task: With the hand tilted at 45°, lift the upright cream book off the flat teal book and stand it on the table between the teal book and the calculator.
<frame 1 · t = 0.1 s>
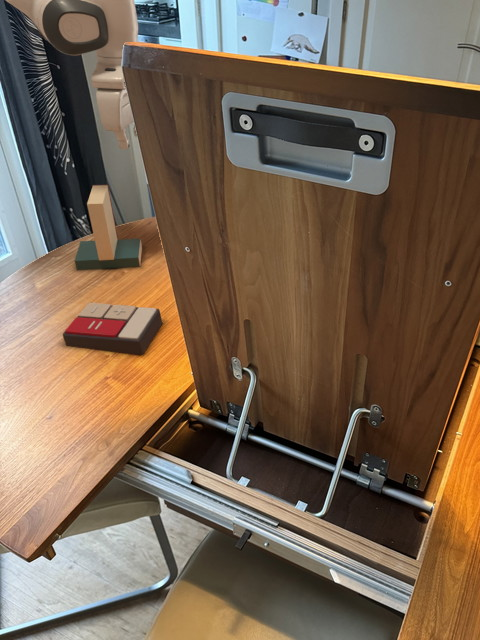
hand: (132, 142, 115), 24 cm above the table, tool pointing down, fingers open, 8 cm apart
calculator: (116, 336, 99), on the table
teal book: (111, 260, 122), on the table, touching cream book
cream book: (108, 249, 120), point 3 cm above the table, touching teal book
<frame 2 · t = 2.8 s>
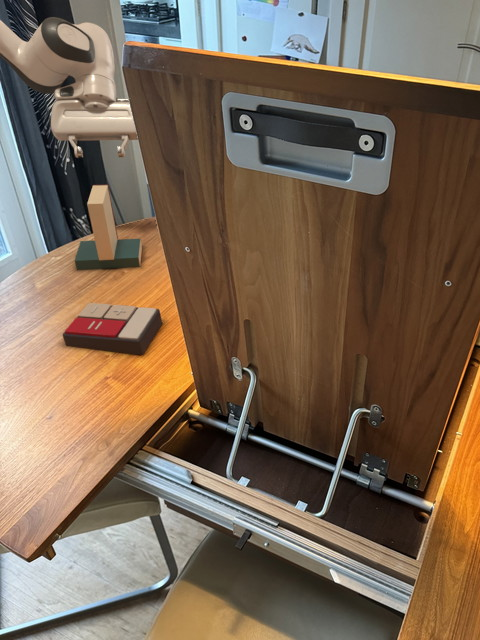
hand: (100, 156, 118), 20 cm above the table, tool tilted 45°, fingers open, 8 cm apart
nothing on the table moved.
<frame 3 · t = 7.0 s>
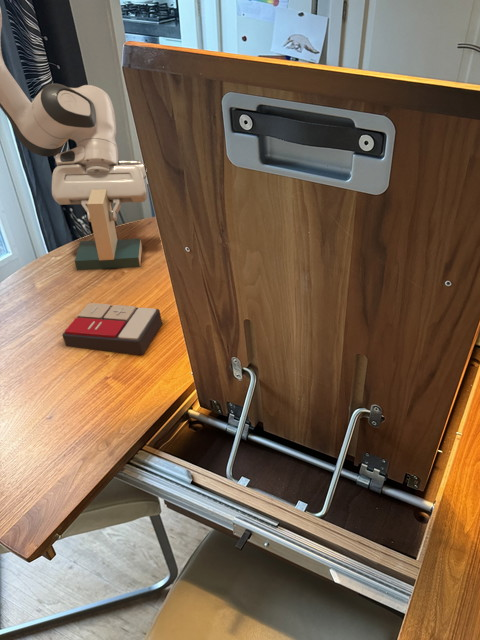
hand: (102, 220, 115), 10 cm above the table, tool tilted 45°, fingers closed on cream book, 3 cm apart
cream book: (108, 249, 120), point 3 cm above the table, touching gripper, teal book
everything else where it was.
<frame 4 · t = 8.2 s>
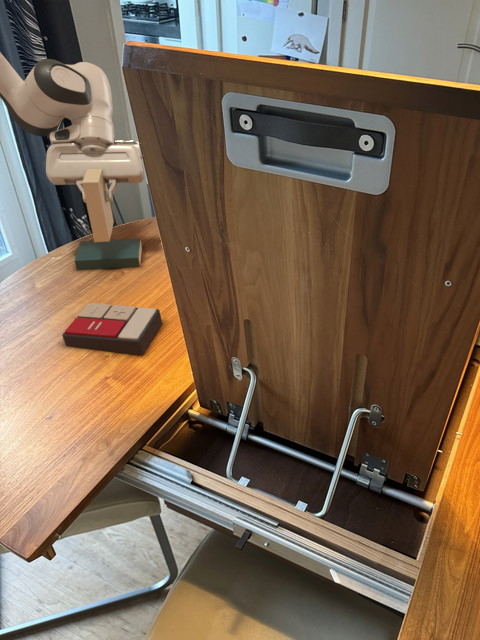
hand: (98, 201, 112), 15 cm above the table, tool tilted 45°, fingers closed on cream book, 3 cm apart
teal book: (111, 260, 122), on the table
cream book: (104, 231, 117), point 8 cm above the table, touching gripper
everything else where it was.
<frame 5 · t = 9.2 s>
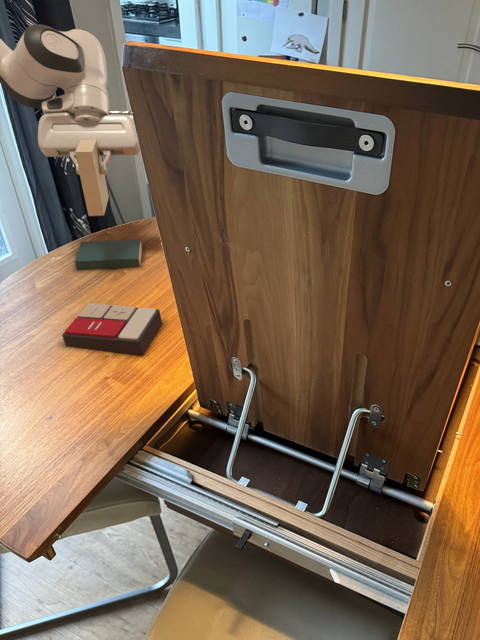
hand: (92, 173, 108), 21 cm above the table, tool tilted 45°, fingers closed on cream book, 3 cm apart
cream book: (99, 205, 113), point 14 cm above the table, touching gripper
everything else where it was.
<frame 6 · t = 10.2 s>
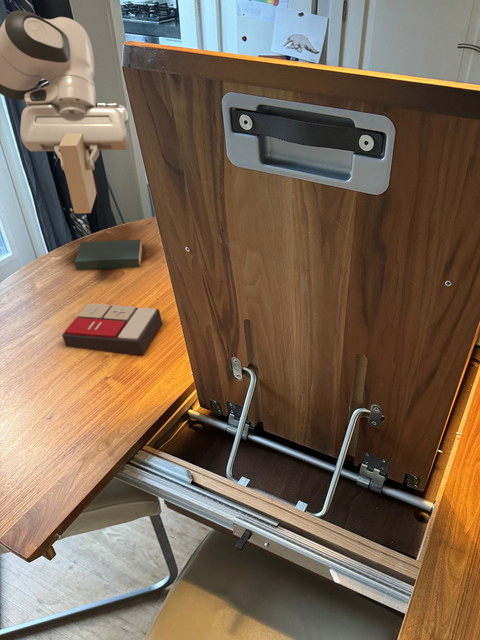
hand: (77, 169, 103), 23 cm above the table, tool tilted 45°, fingers closed on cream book, 3 cm apart
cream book: (85, 203, 108), point 16 cm above the table, touching gripper
everything else where it was.
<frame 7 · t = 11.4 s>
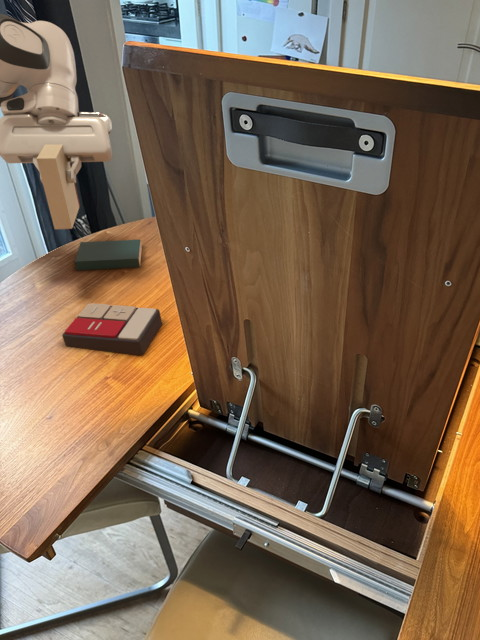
hand: (58, 182, 97), 23 cm above the table, tool tilted 45°, fingers closed on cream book, 3 cm apart
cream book: (67, 217, 102), point 16 cm above the table, touching gripper
everything else where it was.
when the fingers open (7 cm above the table, at t = 16.3 s): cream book stays where it is, on the table.
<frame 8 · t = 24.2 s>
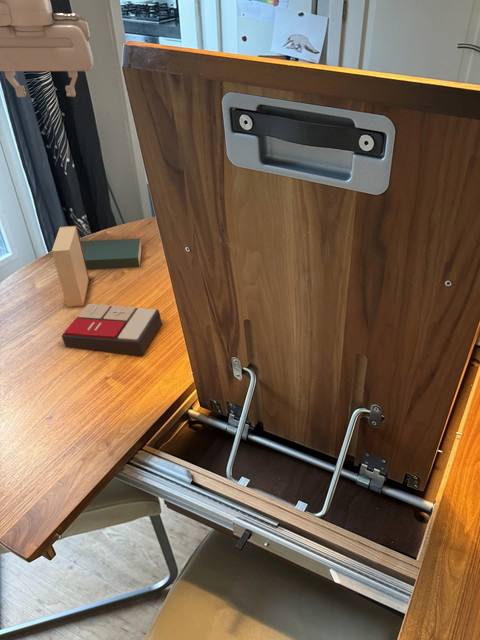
hand: (47, 96, 103), 34 cm above the table, tool pointing down, fingers open, 8 cm apart
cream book: (79, 294, 110), on the table
everything else where it was.
at the end: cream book inside the target area on the table beside the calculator (0.5 cm from its centre), on the table; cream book tilted 0°; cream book touching table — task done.
